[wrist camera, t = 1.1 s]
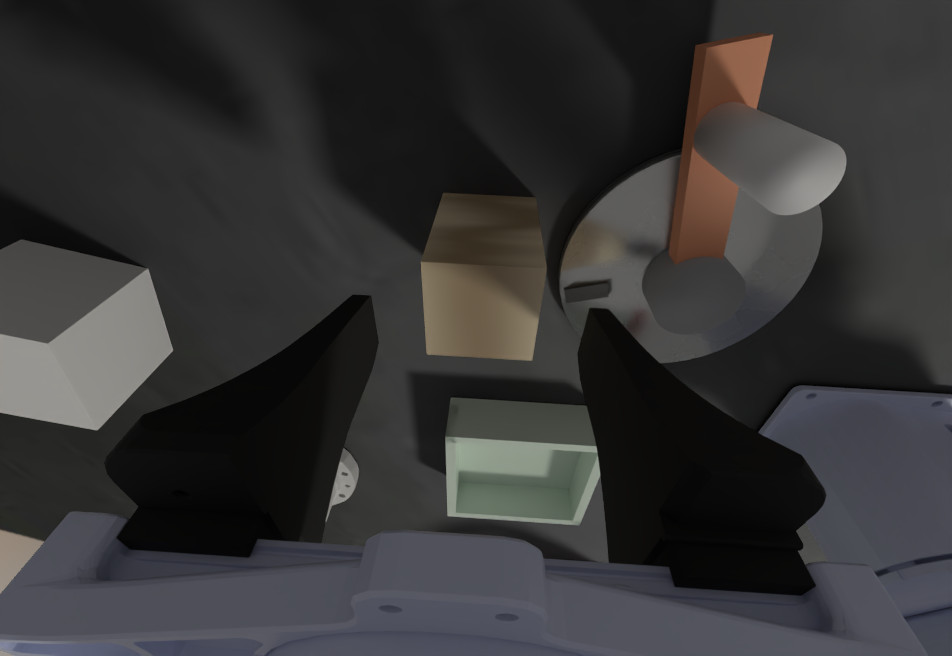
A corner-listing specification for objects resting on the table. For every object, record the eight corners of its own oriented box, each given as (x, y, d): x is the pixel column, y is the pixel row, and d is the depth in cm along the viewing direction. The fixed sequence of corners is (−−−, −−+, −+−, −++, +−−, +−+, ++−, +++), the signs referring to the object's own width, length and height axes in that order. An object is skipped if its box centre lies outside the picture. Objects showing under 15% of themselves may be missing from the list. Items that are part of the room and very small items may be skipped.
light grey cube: (149, 267, 21) (48, 343, 16) (174, 349, 25) (98, 430, 20) (22, 238, 20) (-122, 309, 16) (67, 327, 24) (-38, 406, 19)
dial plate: (870, 150, 15) (889, 157, 15) (742, 359, 22) (750, 371, 22) (581, 137, 16) (586, 143, 15) (543, 347, 23) (545, 359, 22)
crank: (718, 306, 19) (784, 400, 15) (639, 314, 20) (679, 407, 15) (785, 25, 12) (943, 39, 8) (662, 50, 13) (745, 76, 9)
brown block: (535, 197, 17) (546, 268, 13) (525, 276, 20) (532, 360, 15) (443, 192, 17) (420, 261, 13) (444, 272, 20) (426, 354, 15)
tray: (601, 406, 25) (611, 447, 23) (574, 486, 32) (579, 525, 29) (450, 397, 26) (445, 436, 23) (451, 478, 32) (447, 516, 29)
